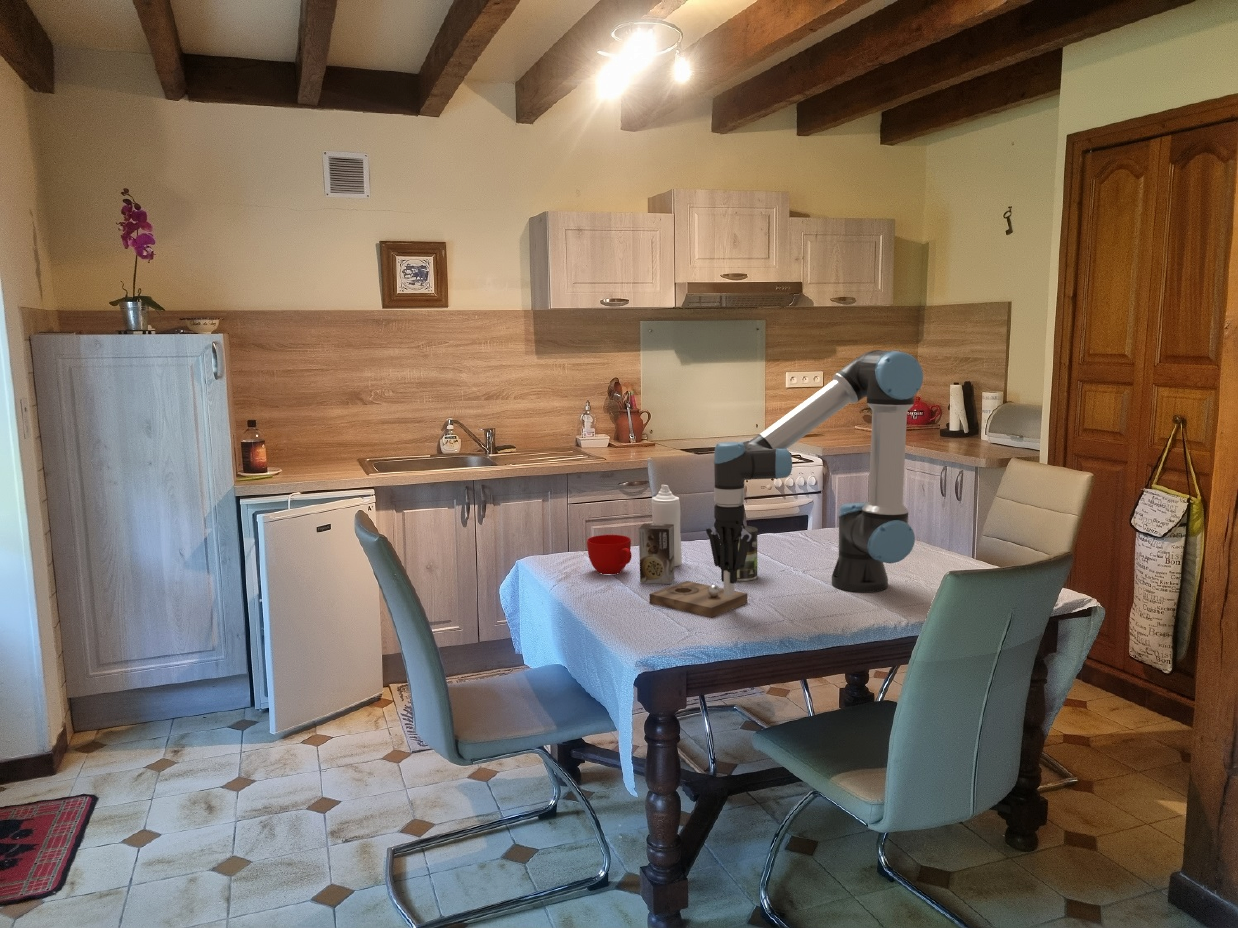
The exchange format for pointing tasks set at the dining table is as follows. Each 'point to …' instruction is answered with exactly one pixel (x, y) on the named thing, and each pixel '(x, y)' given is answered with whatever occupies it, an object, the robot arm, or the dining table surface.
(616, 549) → the ceramic cup
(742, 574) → the coffee can
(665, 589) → the wooden board
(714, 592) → the steel ball
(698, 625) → the dining table surface
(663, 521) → the spray can
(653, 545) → the coffee box
